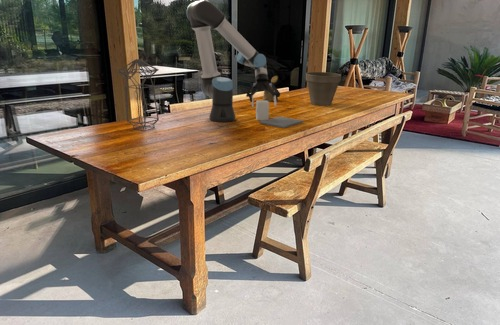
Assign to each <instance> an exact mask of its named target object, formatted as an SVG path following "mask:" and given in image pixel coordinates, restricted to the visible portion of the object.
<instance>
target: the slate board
mask: <svg viewBox="0 0 500 325" xmlns="http://www.w3.org/2000/svg"><path fill="white" fill-rule="evenodd" d="M301 123H304V120H302V119H298V118H290V117H286V116H277V117H273V118H269V119H268V120H260V121H259V124H261V125H266V126H271V127H277V128H282V129H285V128H288V127H291V126H292V127H293V126H295V125H298V124H301Z"/></svg>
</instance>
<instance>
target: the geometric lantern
mask: <svg viewBox="0 0 500 325" xmlns="http://www.w3.org/2000/svg"><path fill="white" fill-rule="evenodd" d="M128 66H129V67H128ZM126 67H128V68H126ZM125 68H126V70H123V69H125ZM151 68H152V69H151ZM138 70H139V71H138ZM158 71H159V69H158V68H157V67H155V66H153V65H151V64H149V63H147V62H145V61H143V60H142V59H140V58H139V59H137V58H136V59H134V60H132V61H130V62H129V63H128V64H126V65H124V66H122V67H121V68H119V69H118V70H117V73H118V74H119V75H120V76H121V77H123V78H124V79H125V80H126V81H125V84H124V93H125V94H124V95H125V109H126V110H125V111H126V112H125V113H126V123H129V124H130V125H132V127H133V128H132V129H133V130H137V131H143V132H146V131H150V130H153V129H156V127H155V124H156V123H158V121H160V119H159V113H158V106H157V98H156V91H155V84H154V83H153V79H152V77H153V75H155V74H156V73H157V72H158ZM137 73H138V74H139V75H140V76H142V77H143V80H142V81H141V84H139V82H138V81H137V80H136V79H135V78H134V75H136V74H137ZM130 74H131V75H130ZM144 75H145V76H144ZM132 79H134V80H132ZM147 79H150V82H151V84H146V86H144V85H145V82H146V80H147ZM129 80H130V81H131V82H132V85H128V82H129ZM135 82H136V83H137V84H135ZM137 86H138V87H137ZM147 88H152V95H153V100H154V106H155V111H156V117H153V116H147V111H146V108H147V107H146V101H145V94H144V93H145V92H144V89H147ZM128 89H135V91H136V92H135V93H136V102H137V113H138V117H137V116H136V117H132V118H129V113H128V112H129V108H128V107H129V106H128V105H129V104H128ZM142 114H143V115H142ZM148 118H149V119H153V120H149V121H146V119H148ZM136 119H138V122H137V121H133V120H136ZM143 120H144V121H143ZM133 123H134V124H133ZM147 124H148V125H147ZM147 127H148V129H147ZM138 128H142V129H138Z"/></svg>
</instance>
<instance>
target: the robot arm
mask: <svg viewBox="0 0 500 325" xmlns="http://www.w3.org/2000/svg"><path fill="white" fill-rule="evenodd" d="M186 8H187V9H186V17H187V19H188V21H189V22H190V24H191V30H193V31H194V32H195V37H196V42H197V48H198V53H199V58H200V59H199V60H200V64H201V69H202V75H201V76H200V77H201V83H200V89H201V91H202V93H203V95H205V96H206V97H208V98H211V103H212V104H211V106H212V107H211V110H210V113H209V116H208V117H209V120H210V121H212V122H217V123H228V122H229V123H230V122H234V121H236V113H235V110H234V107H233V102H234V101H233V100H234V98H233V96H234V94H233V93H234V92H233V91H234V85H233V84H234V82H233V80H232V79H231V78H228V77H224V76H222V74H221V72H219V71H218V66H217V60H216V55H215V49H214V43H213V37H212V32H211V29H212V30H215V31H217V32H218V33H219V34H220V35H221V36H222V37H223V38H224V39H225V40H226V41H227V42H228V43H229V44H230V45H231V46H232V47H233V48H234V49H235V50H236V51H237V52H238V53H237V55H236V61H237V63H239V64H241V65H244V66H246V67H249V68H251V69H254V75H255V76H254V77H255V82H253V81H251V82H250V87H249V88H248V91H247V92H246V98H249V102H250V103H251V107H252V108H254V107H255V104H254V95H255V94H256V93H257V92H258V91H264V90H267V91H268V92H269V93H271V94H272V95H273V96H274V101H273V103H274V108H277V106H278V105H277V104H278V101H279V99H278V98H280V96H281V93H280V90H279V89H278V88H277V87H276V86H275V84H274V83H273V82H272V83H271V82H269V76H268V67H267V58H266V55H264V54H263V53H259V52H258V51H257V50H256V49H255V48H254V47H253V46H252V45H251V44H250V43H249V41H248V40H246V38H245V37H243V35H242V34H241V33H240V32H239V31H238V30H237V29H236V28H235V27H234V26H233V25H232V24H231V23H230V22H229V21H228V19H226V15H225V13H223V12H222V11H221V10H220V8H218V7H217V5H215V4H214V3H213V2H211V1H209V0H196V1H193V2H191V3H190V4H189V5H188V6H187V7H186ZM269 86H271V87H272V89H273V90H274V91H273V90H272V89H271V88H270V87H269ZM254 87H255V88H254ZM253 88H254V89H253Z"/></svg>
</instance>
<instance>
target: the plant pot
mask: <svg viewBox="0 0 500 325" xmlns="http://www.w3.org/2000/svg"><path fill="white" fill-rule="evenodd" d="M341 80H342V74H341V73H340V74H339V73H335V72H329V71H327V72H325V71H310V72H309V71H307V72H305V81H306V83H307V89H308V90H307V91H308V96H309V101H310V104H311V105H313V106H320V107H322V106H324V107H327V106H331V105H332V104H333V101H334V98H335V95H336V93H337V89H338V88H339V87H338V86H339V84H340V83H341Z"/></svg>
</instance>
